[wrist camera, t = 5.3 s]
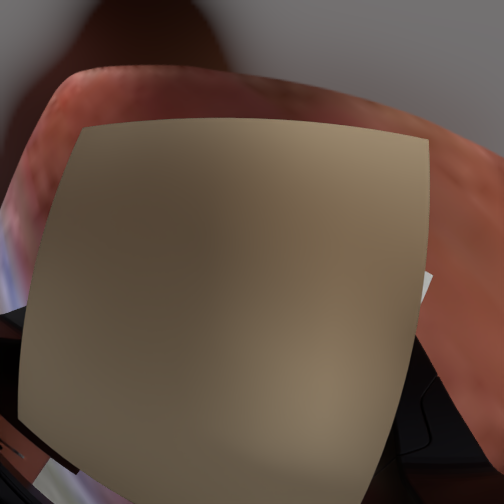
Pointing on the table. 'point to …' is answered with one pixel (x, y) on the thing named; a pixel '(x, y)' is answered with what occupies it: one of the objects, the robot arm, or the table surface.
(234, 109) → the table surface
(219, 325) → the oak block
